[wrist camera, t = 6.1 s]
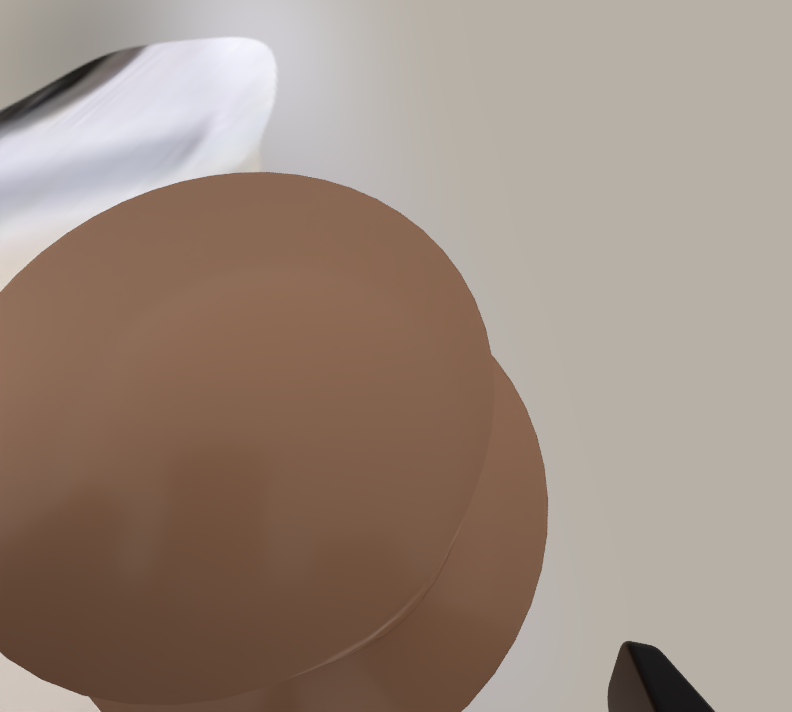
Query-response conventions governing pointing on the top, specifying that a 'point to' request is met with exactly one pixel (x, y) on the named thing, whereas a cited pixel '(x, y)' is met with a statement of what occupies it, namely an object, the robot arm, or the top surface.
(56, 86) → the top surface
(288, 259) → the terracotta vase
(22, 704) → the top surface
